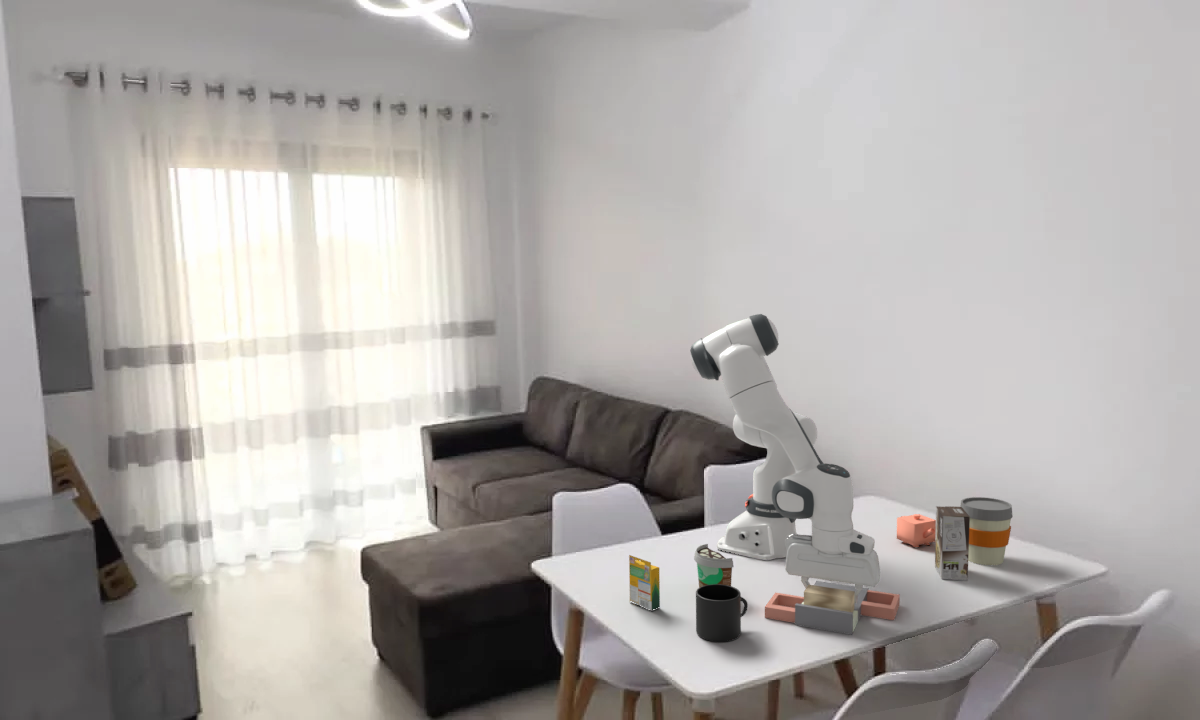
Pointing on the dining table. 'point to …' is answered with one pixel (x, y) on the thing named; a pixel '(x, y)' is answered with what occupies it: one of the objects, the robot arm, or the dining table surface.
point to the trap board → (831, 618)
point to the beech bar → (829, 598)
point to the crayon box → (644, 583)
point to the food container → (712, 567)
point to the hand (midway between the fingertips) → (831, 598)
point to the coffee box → (952, 543)
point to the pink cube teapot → (916, 529)
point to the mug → (719, 612)
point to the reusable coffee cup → (987, 529)
